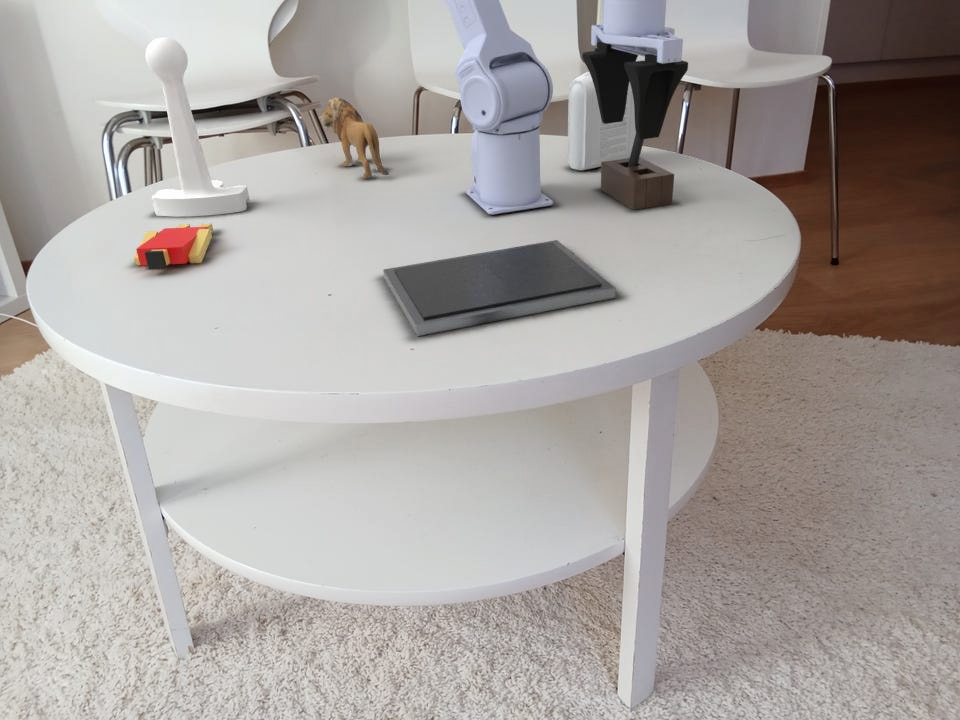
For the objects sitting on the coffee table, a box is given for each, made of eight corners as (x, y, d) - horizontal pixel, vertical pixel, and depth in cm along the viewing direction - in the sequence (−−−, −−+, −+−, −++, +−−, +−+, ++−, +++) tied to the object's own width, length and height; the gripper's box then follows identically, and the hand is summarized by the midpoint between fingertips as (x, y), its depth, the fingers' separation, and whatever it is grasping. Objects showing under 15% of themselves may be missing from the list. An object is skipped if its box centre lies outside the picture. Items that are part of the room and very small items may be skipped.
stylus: (619, 191, 94) (636, 123, 90) (627, 191, 94) (644, 124, 91) (623, 193, 93) (640, 125, 89) (631, 194, 93) (648, 126, 90)
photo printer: (619, 153, 109) (623, 60, 103) (641, 159, 106) (646, 63, 100) (562, 167, 105) (562, 71, 99) (583, 173, 102) (584, 75, 95)
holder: (633, 210, 88) (634, 179, 86) (600, 190, 95) (601, 161, 93) (672, 203, 89) (674, 173, 88) (636, 184, 96) (638, 156, 95)
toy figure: (165, 218, 88) (118, 251, 77) (224, 216, 88) (186, 248, 77) (170, 239, 89) (124, 274, 78) (228, 237, 89) (191, 272, 78)
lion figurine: (322, 162, 113) (312, 99, 109) (354, 155, 116) (345, 93, 111) (372, 183, 103) (364, 113, 98) (406, 174, 105) (399, 106, 101)
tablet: (384, 278, 74) (382, 267, 74) (557, 249, 79) (557, 237, 78) (417, 336, 64) (415, 323, 63) (615, 298, 68) (616, 285, 67)
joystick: (151, 218, 94) (104, 42, 85) (172, 199, 101) (131, 34, 91) (242, 213, 94) (204, 37, 84) (257, 194, 101) (224, 29, 91)
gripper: (718, -20, 66) (703, 140, 73) (637, -26, 79) (631, 111, 85) (644, -14, 65) (636, 149, 71) (573, -21, 77) (572, 119, 83)
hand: (629, 129), depth 78 cm, fingers open, 7 cm apart
